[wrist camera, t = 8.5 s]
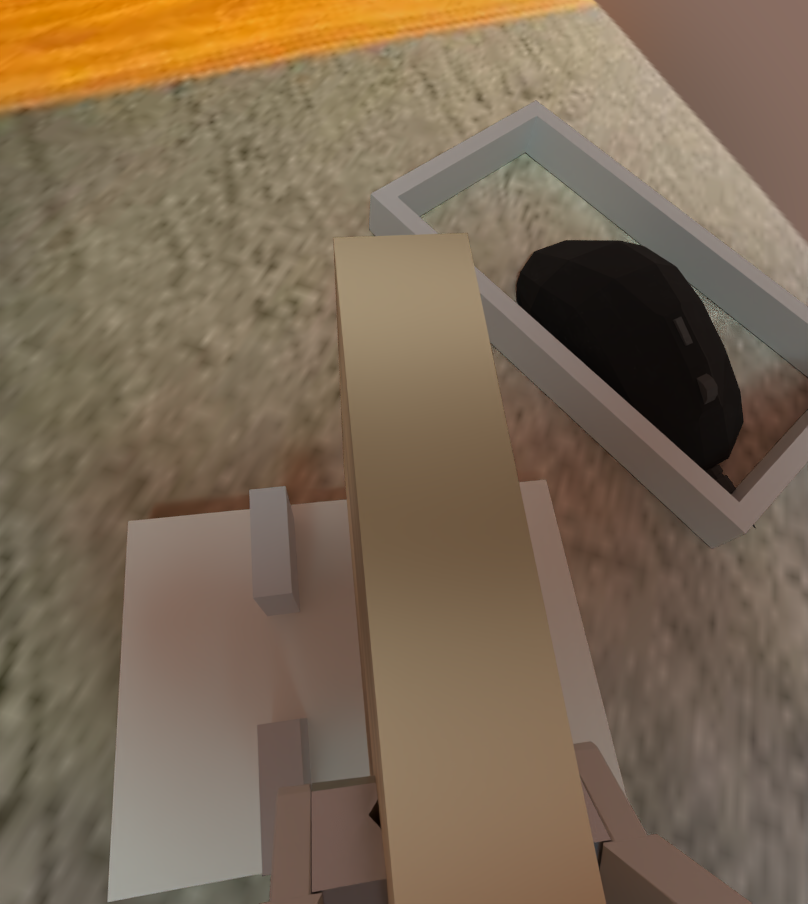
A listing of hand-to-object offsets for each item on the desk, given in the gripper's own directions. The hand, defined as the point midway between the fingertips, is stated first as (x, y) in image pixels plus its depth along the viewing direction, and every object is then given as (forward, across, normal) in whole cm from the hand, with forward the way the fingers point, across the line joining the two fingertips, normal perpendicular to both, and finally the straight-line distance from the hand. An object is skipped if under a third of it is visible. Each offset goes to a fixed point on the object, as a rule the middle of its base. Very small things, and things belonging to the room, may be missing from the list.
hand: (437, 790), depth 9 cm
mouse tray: (+18, -11, -5) cm, 22 cm away
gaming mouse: (+16, -12, -2) cm, 20 cm away
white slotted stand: (+9, +1, +5) cm, 10 cm away
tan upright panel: (+6, 0, +2) cm, 6 cm away
